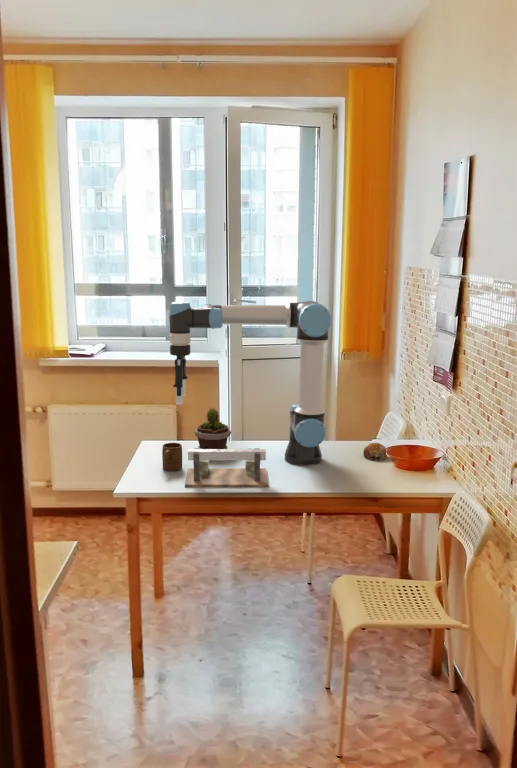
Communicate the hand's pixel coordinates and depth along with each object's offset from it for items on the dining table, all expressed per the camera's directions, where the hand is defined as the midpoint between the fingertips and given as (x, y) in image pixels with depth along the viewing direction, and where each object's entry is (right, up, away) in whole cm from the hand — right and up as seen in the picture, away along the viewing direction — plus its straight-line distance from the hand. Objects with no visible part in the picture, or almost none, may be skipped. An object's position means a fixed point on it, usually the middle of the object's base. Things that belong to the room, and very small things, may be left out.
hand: (180, 400), depth 249 cm
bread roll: (+78, -25, +26) cm, 85 cm away
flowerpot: (+10, -23, +27) cm, 37 cm away
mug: (-5, -27, +6) cm, 28 cm away
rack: (+17, -29, -3) cm, 34 cm away
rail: (+18, -21, -8) cm, 29 cm away
